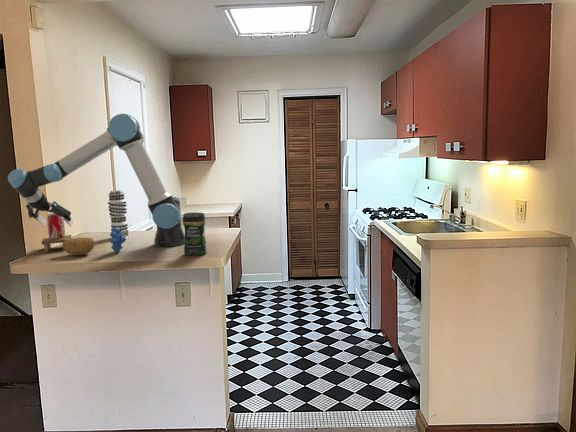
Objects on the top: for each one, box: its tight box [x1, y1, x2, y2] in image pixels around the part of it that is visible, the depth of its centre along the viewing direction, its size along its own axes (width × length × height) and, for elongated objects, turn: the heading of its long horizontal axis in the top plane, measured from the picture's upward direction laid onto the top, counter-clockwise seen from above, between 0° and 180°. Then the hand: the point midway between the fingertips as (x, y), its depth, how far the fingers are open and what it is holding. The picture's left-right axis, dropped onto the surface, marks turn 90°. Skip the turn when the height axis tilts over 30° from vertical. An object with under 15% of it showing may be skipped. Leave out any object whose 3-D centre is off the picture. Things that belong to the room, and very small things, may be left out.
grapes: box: [109, 227, 127, 254], centre depth 214 cm, size 12×7×12 cm, turn 4°
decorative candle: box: [107, 190, 129, 240], centre depth 246 cm, size 9×9×25 cm
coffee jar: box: [182, 212, 208, 256], centre depth 206 cm, size 10×8×19 cm
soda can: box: [46, 212, 66, 239], centre depth 224 cm, size 7×7×12 cm
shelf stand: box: [41, 234, 72, 253], centre depth 225 cm, size 12×12×5 cm
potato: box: [61, 236, 95, 256], centre depth 211 cm, size 10×14×8 cm
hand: (58, 224), depth 226 cm, fingers open, 13 cm apart
